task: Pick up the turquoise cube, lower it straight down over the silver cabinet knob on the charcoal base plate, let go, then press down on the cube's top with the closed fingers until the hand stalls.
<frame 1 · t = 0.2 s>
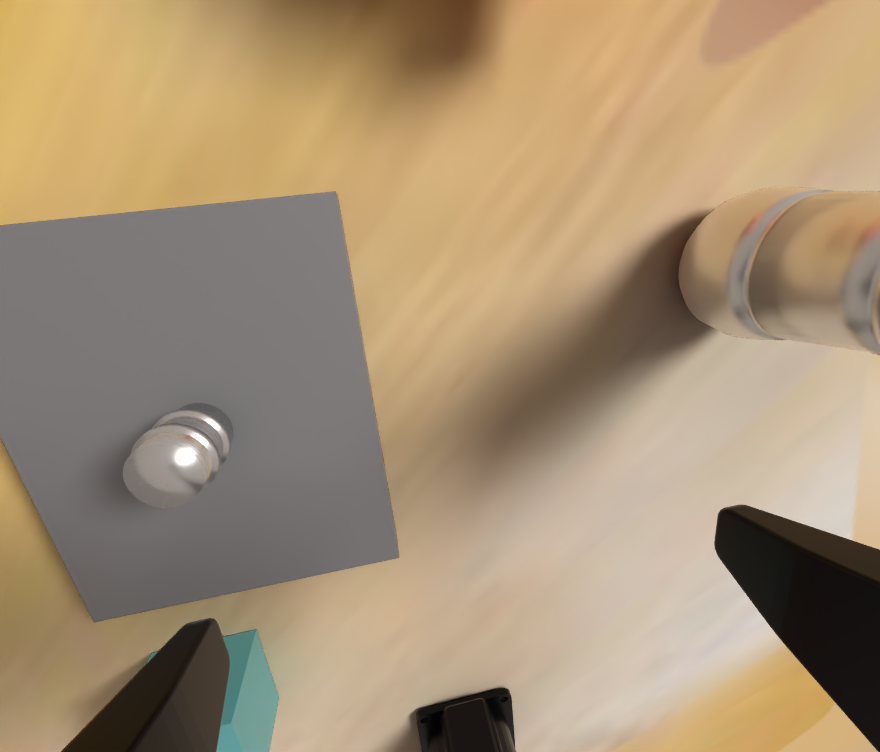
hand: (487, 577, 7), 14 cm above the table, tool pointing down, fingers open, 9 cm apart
base plate: (212, 416, 20), on the table
plastic bottle: (713, 261, 22), on the table
silver cabinet knob: (184, 451, 17), on the base plate, point 3 cm above the table
turquoise cube: (218, 676, 25), on the table
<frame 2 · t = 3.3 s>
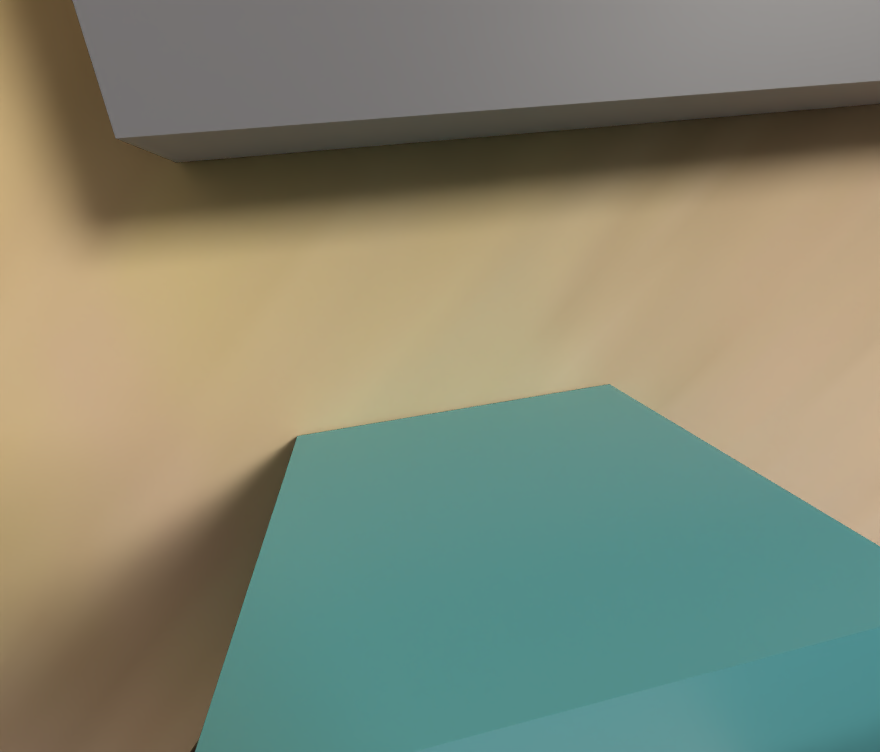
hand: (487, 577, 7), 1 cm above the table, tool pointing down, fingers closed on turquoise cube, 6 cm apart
turquoise cube: (473, 539, 8), on the table, touching gripper
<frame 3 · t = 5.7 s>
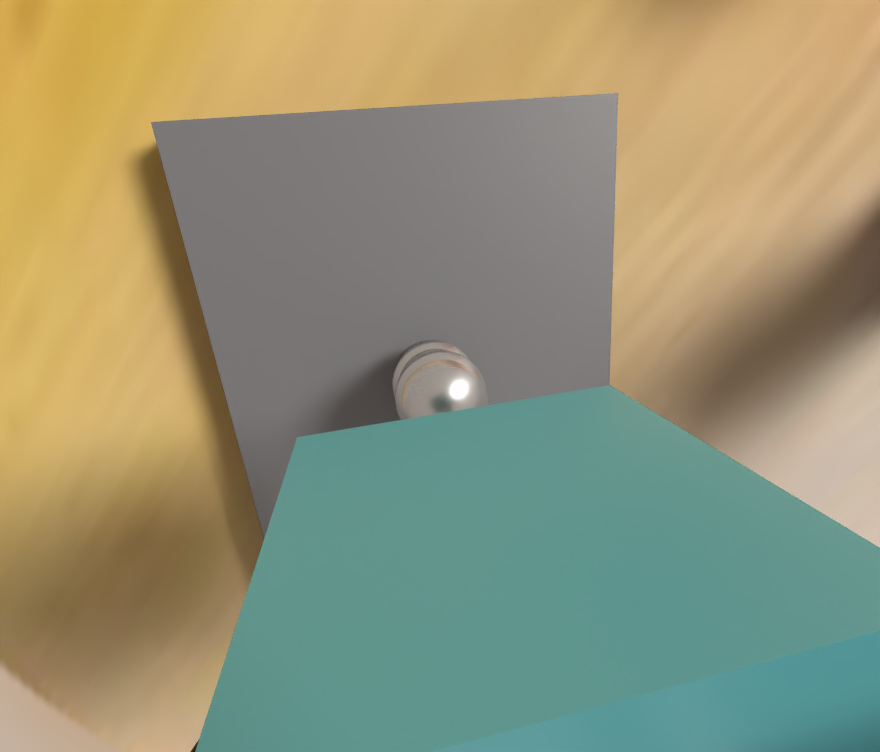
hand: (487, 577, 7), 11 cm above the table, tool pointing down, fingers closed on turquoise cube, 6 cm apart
base plate: (424, 362, 18), on the table
silver cabinet knob: (437, 388, 15), on the base plate, point 3 cm above the table
turquoise cube: (473, 540, 8), point 10 cm above the table, touching gripper
when the fingers open (3 cm above the table, at t = 8.4 s): turquoise cube stays where it is, resting on base plate.
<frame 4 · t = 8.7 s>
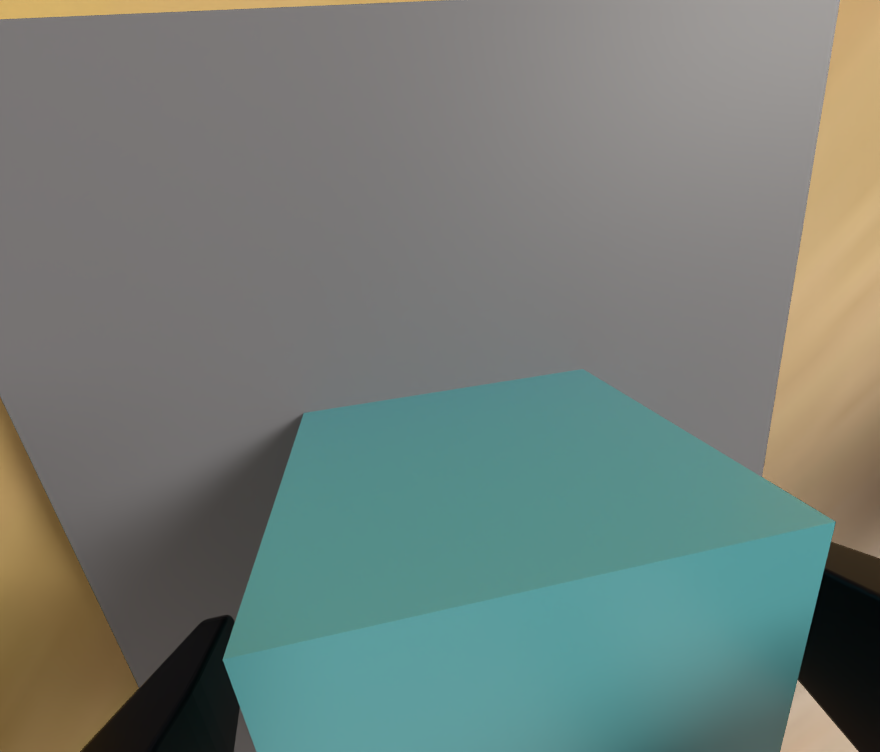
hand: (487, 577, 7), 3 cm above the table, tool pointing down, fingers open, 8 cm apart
base plate: (449, 472, 11), on the table
turquoise cube: (461, 509, 9), point 1 cm above the table, touching base plate
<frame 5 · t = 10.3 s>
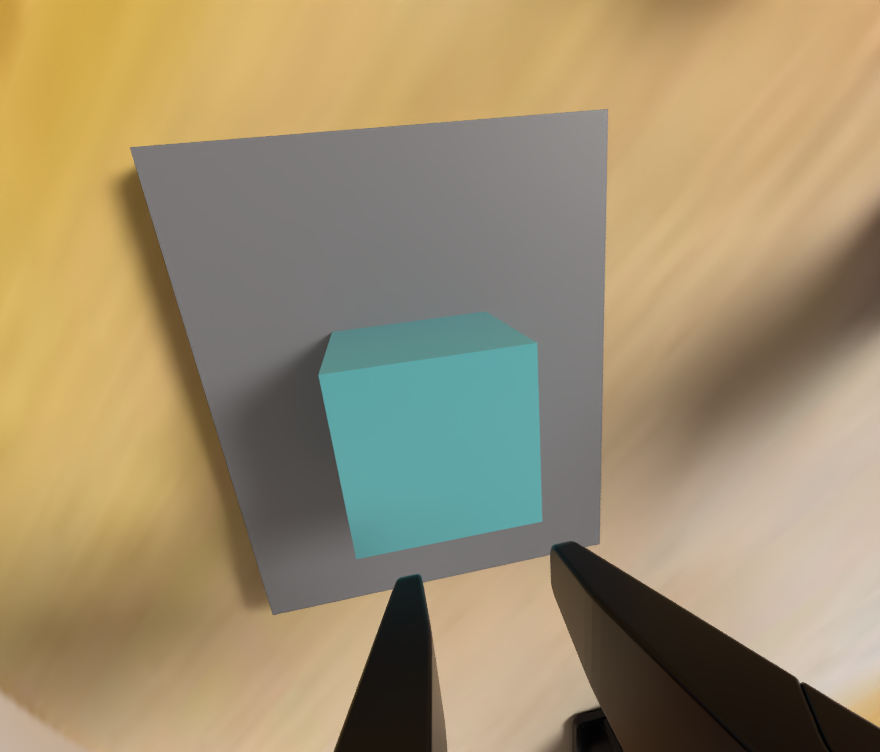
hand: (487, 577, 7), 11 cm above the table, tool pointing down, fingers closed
base plate: (415, 380, 18), on the table
turquoise cube: (419, 393, 16), point 1 cm above the table, touching base plate
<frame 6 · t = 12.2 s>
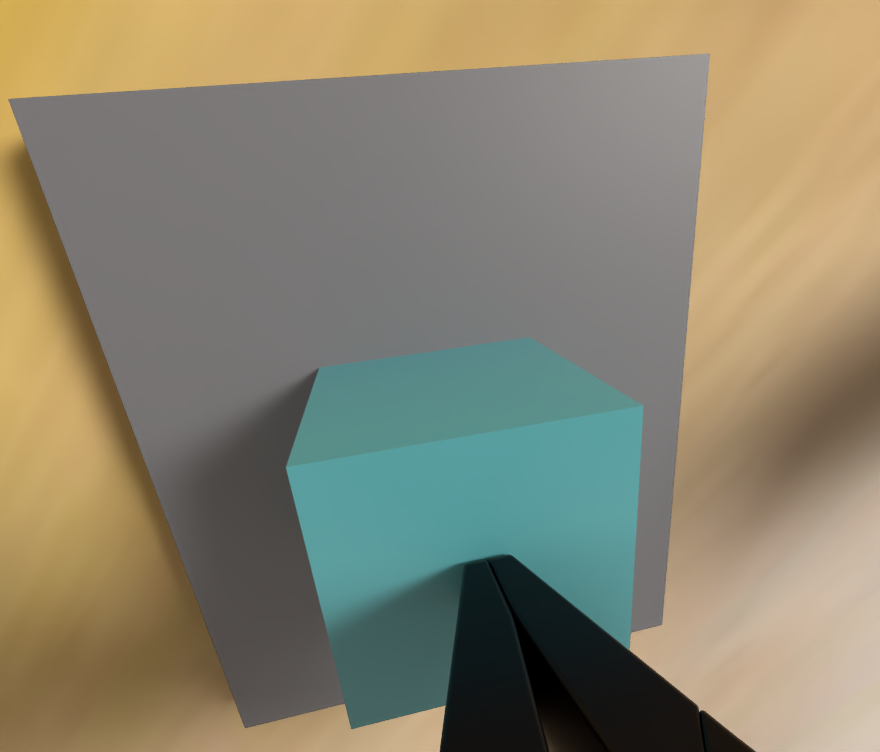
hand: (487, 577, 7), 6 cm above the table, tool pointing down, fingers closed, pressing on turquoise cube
base plate: (431, 424, 14), on the table
turquoise cube: (438, 446, 12), point 1 cm above the table, touching base plate, gripper
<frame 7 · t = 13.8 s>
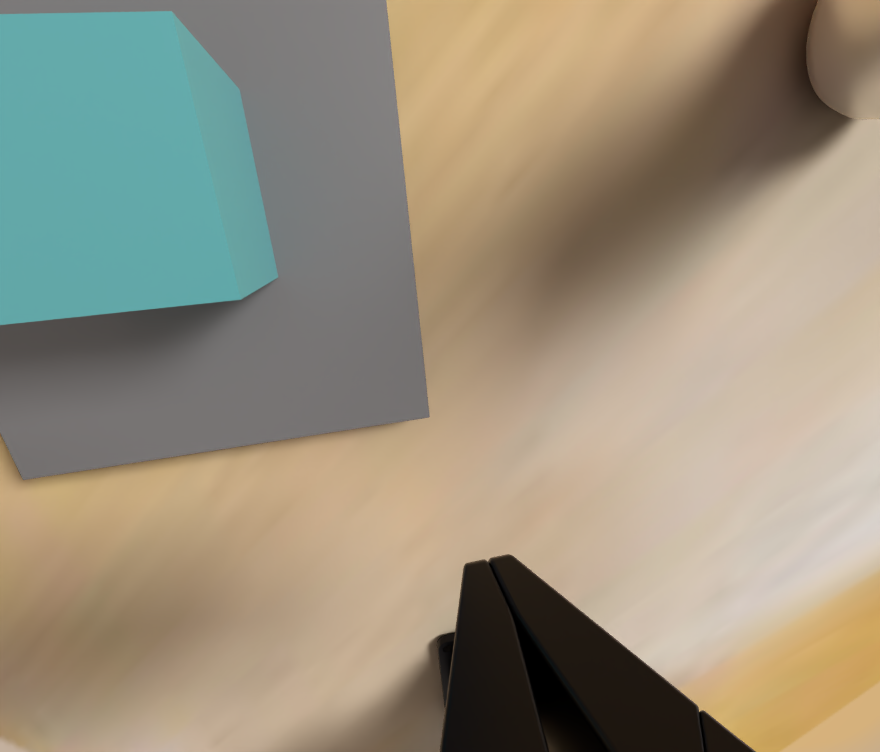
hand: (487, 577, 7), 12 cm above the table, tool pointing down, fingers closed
base plate: (186, 198, 15), on the table
plastic bottle: (844, 38, 17), on the table
turquoise cube: (168, 196, 14), point 1 cm above the table, touching base plate
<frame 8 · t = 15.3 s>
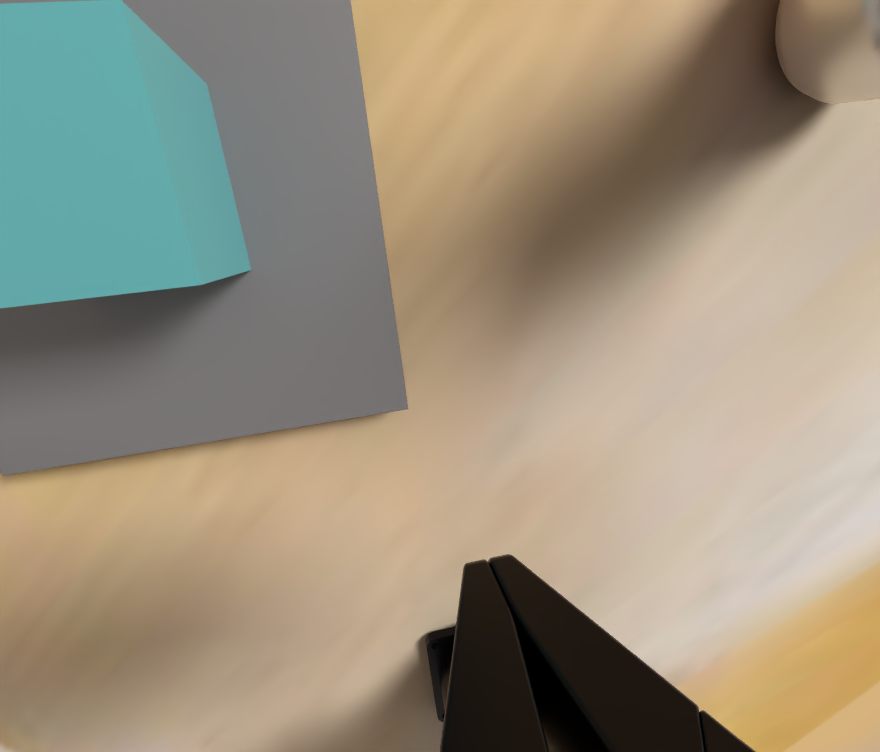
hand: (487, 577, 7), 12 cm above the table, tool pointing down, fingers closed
base plate: (160, 194, 15), on the table
plastic bottle: (815, 24, 17), on the table
turquoise cube: (139, 190, 14), point 1 cm above the table, touching base plate
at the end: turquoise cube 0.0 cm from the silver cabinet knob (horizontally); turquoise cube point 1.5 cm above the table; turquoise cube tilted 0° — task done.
